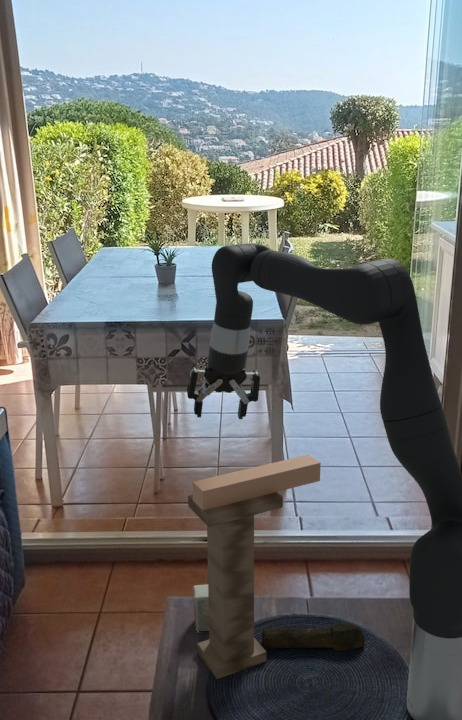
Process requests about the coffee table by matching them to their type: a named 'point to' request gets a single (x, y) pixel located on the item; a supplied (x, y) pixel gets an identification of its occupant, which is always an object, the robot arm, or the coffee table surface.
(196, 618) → the small box
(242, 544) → the stand
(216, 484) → the bar
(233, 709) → the coffee table surface
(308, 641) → the hand tool
